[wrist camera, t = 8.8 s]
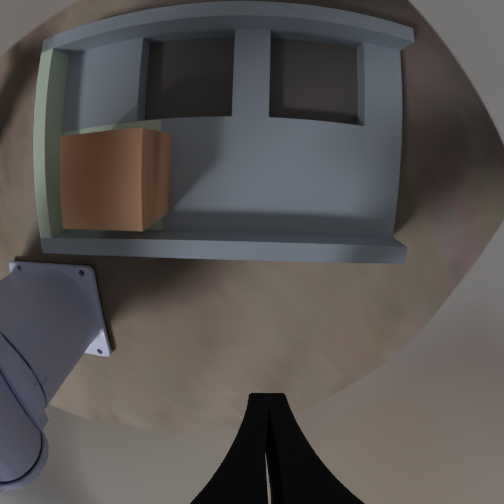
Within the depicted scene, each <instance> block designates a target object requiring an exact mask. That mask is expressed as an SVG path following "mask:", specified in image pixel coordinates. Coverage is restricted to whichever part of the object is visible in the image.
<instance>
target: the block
mask: <svg viewBox="0 0 504 504" xmlns="http://www.w3.org/2000/svg"><path fill="white" fill-rule="evenodd" d="M171 142H172V134H171V133H167V132H162V131H157V130H152V129H146V128H132V129H120V130H110V131H100V132H92V133H84V134H76V135H70V136H63V137H60V195H61V210H62V222H63V229H92V230H119V231H144V230H145V229H147V228H148V227H149V226H151V225H152V224H154V223H155V222H156V221H158V220H159V219H161V218H162V217H163V216H165V215H166V214H168V213H169V212H170V180H171Z"/></svg>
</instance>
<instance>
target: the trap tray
mask: <svg viewBox="0 0 504 504" xmlns="http://www.w3.org/2000/svg"><path fill="white" fill-rule="evenodd" d="M414 42H415V41H414V33H413V28H411V27H408V26H405V25H401V24H398V23H395V22H391V21H388V20H384V19H380V18H377V17H373V16H368V15H364V14H360V13H355V12H350V11H345V10H340V9H334V8H328V7H321V6H314V5H306V4H296V3H285V2H268V1H218V2H202V3H190V4H181V5H173V6H166V7H159V8H153V9H147V10H142V11H137V12H132V13H127V14H123V15H119V16H114V17H110V18H107V19H103V20H99V21H96V22H92V23H89V24H86V25H83V26H79V27H76V28H73V29H71V30H68V31H65V32H62V33H59V34H57V35H54V36H52V37H49V38H47V39H44V42H43V47H42V52H41V58H40V65H39V71H38V79H37V88H36V98H35V112H34V138H33V156H34V183H35V197H36V208H37V217H38V225H39V232H40V239H41V245H42V251H43V253H51V254H76V255H102V256H129V257H158V258H189V259H223V260H259V261H299V262H345V263H400V264H404V260H405V255H406V249H407V247H406V246H405V245H403V244H402V243H401V242H399V241H398V240H396V239H395V238H393V232H394V224H395V217H396V208H397V199H398V189H399V178H400V164H401V145H402V77H401V59H400V51H401V50H402V49H404V48H406V47H407V46H409V45H411V44H412V43H414ZM132 128H146V129H152V130H157V131H162V132H167V133H171V134H172V142H171V180H170V212H169V213H168V214H166V215H165V216H163V217H162V218H161V219H159V220H158V221H156V222H155V223H154V224H152V225H151V226H149V227H148V228H147V229H145V230H144V231H119V230H92V229H63V222H62V210H61V195H60V137H63V136H70V135H76V134H84V133H92V132H100V131H110V130H120V129H132Z"/></svg>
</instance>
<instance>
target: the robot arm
mask: <svg viewBox="0 0 504 504" xmlns="http://www.w3.org/2000/svg"><path fill="white" fill-rule="evenodd" d="M20 267H21V268H20ZM9 269H10V273H11V274H10V275H8V276H6V277H5V278H3V279H2V280H0V492H3V491H6V490H14V489H19V488H22V487H24V486H26V485H28V484H30V483H31V482H33V481H34V480H35V479H36V478H37V477H38V476H39V475H40V473H41V472H42V470H43V468H44V466H45V464H46V461H47V458H48V442H47V438H46V436H45V434H44V432H43V431H42V430H43V428H44V427H45V425H46V423H47V422H48V420H49V419H48V417H47V415H46V413H45V408H46V407H47V405H48V404H49V402H50V401H51V399H52V398H53V396H54V395H55V393H56V392H57V391H58V389H59V388H60V386H61V385H62V383H63V382H64V380H65V379H66V377H67V376H68V375H69V373H70V372H71V370H72V369H73V368H74V366H75V365H76V363H77V362H78V361H79V359H80V358H81V356H82V355H83V354H84V353H89V354H94V355H100V356H105V357H109V356H110V354H111V353H112V351H111V347H110V343H109V339H108V335H107V331H106V327H105V323H104V318H103V314H102V309H101V304H100V299H99V294H98V289H97V284H96V278H95V272H94V269H93V268H92V267H91V266H87V265H70V264H54V263H38V262H24V261H12V262H10V263H9ZM81 270H82V271H83V272H84V274H82V272H81ZM101 350H102V351H101ZM265 452H266V459H267V466H268V475H269V483H270V491H271V504H364V503H363V502H362V501H361V500H360V499H358V498H357V497H356V496H355V495H353V494H352V493H351V492H350V491H349V490H348V489H347V488H346V487H345V486H343V484H342V483H340V481H339V480H338V479H337V478H336V477H335V476H334V475H333V474H332V473H331V472H330V471H329V470H328V468H327V467H326V466H325V465H324V464H323V462H322V461H321V460H320V458H319V457H318V456H317V455H316V453H315V452H314V450H313V449H312V447H311V446H310V444H309V443H308V441H307V439H306V438H305V436H304V435H303V433H302V431H301V429H300V427H299V426H298V424H297V422H296V420H295V418H294V416H293V413H292V411H291V409H290V407H289V404H288V401H287V398H286V395H285V394H284V393H251V394H249V399H248V405H247V409H246V412H245V415H244V418H243V421H242V424H241V426H240V429H239V431H238V434H237V436H236V438H235V440H234V442H233V444H232V446H231V448H230V450H229V452H228V453H227V455H226V457H225V459H224V460H223V462H222V463H221V465H220V467H219V468H218V470H217V471H216V472H215V474H214V475H213V477H212V478H211V479H210V481H209V482H208V484H207V485H206V486H205V487H204V488H203V490H202V491H201V492H200V493H199V494H198V495H197V496H196V497H195V499H194V500H193V501H192V502H191V503H190V504H268V495H267V479H266V460H265Z"/></svg>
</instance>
